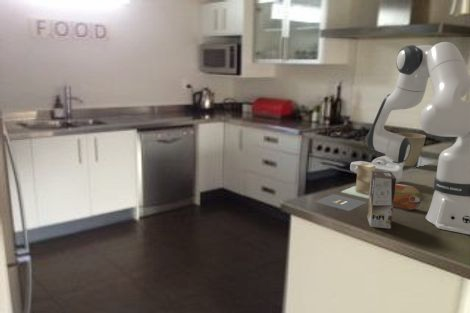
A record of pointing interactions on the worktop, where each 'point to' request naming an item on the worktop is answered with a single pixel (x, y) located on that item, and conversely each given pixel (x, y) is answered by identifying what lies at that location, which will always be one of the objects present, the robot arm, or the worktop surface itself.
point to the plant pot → (414, 147)
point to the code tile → (340, 202)
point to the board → (354, 192)
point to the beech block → (364, 178)
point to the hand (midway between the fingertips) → (367, 173)
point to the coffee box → (381, 199)
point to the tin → (407, 197)
